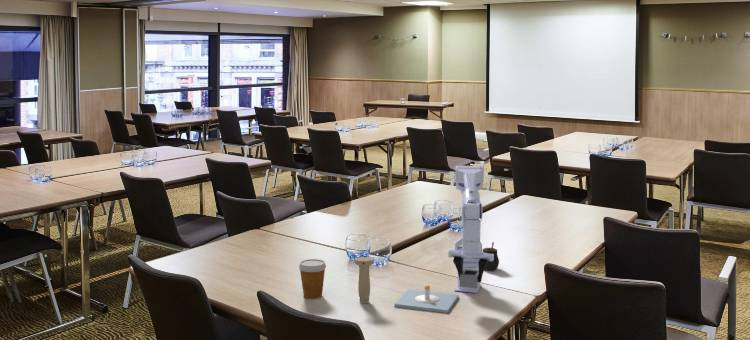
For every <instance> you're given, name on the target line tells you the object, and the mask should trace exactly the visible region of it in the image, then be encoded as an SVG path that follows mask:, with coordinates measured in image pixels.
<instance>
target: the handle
mask: <svg viewBox="0 0 750 340" xmlns="http://www.w3.org/2000/svg"><path fill="white" fill-rule="evenodd" d="M374 260H375V258H374V257H370V256H369V257H368V256H360V257H355V258H354V263H355V265H357V266H358V268H359V269H358V283H357V284H358V288H357V289H358V297H359V303H361V304H368V303H369V302H370V297H371V296H370V295H371V279H370V266H371V265H374V263H375V261H374Z"/></svg>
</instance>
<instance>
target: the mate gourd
mask: <svg viewBox="0 0 750 340" xmlns="http://www.w3.org/2000/svg"><path fill="white" fill-rule="evenodd" d="M494 243H495V242H494V241H492V243H491V247H485V248H482V252H484V253H489V254H494V260H493V261H489V260H488V262H487V264H486V267H485V269H484V271H487V272H488V271H490V272H491V271H495V270H497V269H498V268H499V264H500V259H499V256H498V249H497V248H494Z"/></svg>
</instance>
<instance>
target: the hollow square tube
mask: <svg viewBox="0 0 750 340" xmlns="http://www.w3.org/2000/svg"><path fill="white" fill-rule="evenodd" d="M478 276H479V271H478V270H468V269H464V270H463V271H462V273H461V274H460V287H468V288H478V286H479V284H482V281H481V282H478Z"/></svg>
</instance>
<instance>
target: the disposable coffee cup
mask: <svg viewBox="0 0 750 340" xmlns="http://www.w3.org/2000/svg"><path fill="white" fill-rule="evenodd" d="M326 268H327V263H326V261H325V260H323V259H318V258H310V259H309V258H308V259H303V260H301V261H300V262H299V265H298V269H299V272H300V280H301V285H302V292H303V293H302V294H303V298H305V299H308V300H314V299H319V298H322V296H323V289H324V279H325V272H326V271H325V270H326Z"/></svg>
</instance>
